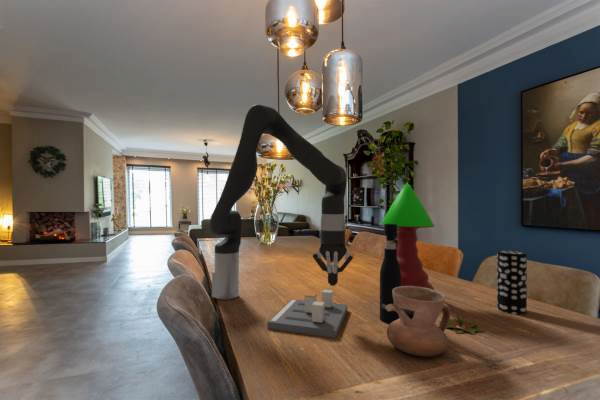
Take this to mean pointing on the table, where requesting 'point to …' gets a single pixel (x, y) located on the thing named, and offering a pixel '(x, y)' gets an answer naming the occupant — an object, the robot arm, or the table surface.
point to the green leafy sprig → (467, 325)
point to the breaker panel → (308, 319)
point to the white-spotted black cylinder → (512, 282)
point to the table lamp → (409, 236)
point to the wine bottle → (389, 275)
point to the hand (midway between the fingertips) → (332, 285)
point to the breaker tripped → (310, 301)
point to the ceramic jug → (418, 321)
